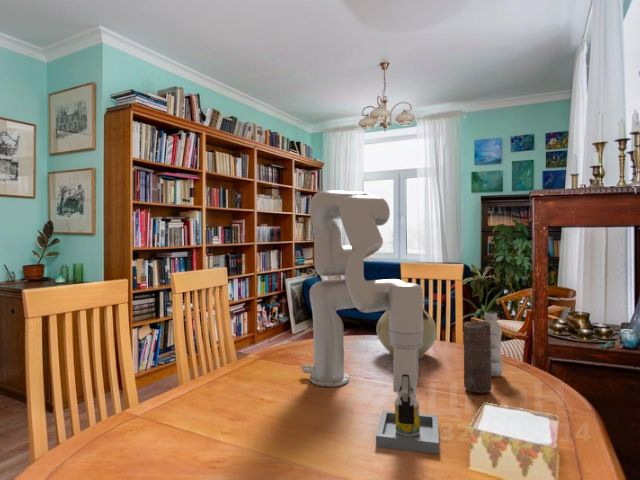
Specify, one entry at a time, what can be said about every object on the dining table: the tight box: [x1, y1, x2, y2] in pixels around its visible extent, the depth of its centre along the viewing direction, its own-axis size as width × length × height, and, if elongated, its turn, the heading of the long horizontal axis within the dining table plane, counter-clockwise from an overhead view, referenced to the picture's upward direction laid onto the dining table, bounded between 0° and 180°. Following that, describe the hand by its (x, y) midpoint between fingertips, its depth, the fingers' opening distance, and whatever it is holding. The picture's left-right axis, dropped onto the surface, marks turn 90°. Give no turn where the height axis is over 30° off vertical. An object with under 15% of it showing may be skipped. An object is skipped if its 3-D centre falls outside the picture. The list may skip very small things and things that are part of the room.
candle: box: [463, 320, 492, 394], centre depth 113 cm, size 8×7×20 cm
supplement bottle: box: [394, 389, 420, 437], centre depth 89 cm, size 5×5×10 cm
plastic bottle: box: [484, 311, 504, 377], centre depth 126 cm, size 6×7×20 cm
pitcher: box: [375, 299, 438, 360], centre depth 148 cm, size 22×24×25 cm
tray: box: [375, 409, 440, 455], centre depth 89 cm, size 13×13×2 cm
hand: (407, 413), depth 89 cm, fingers open, 9 cm apart
